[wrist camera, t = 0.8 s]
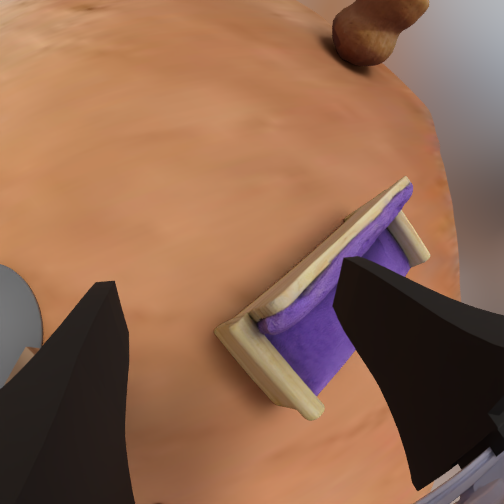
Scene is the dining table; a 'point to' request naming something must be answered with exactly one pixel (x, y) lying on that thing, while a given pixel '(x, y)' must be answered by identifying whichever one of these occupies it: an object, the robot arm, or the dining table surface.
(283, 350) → the toy sofa
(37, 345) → the mat
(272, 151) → the dining table surface
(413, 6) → the butternut squash
